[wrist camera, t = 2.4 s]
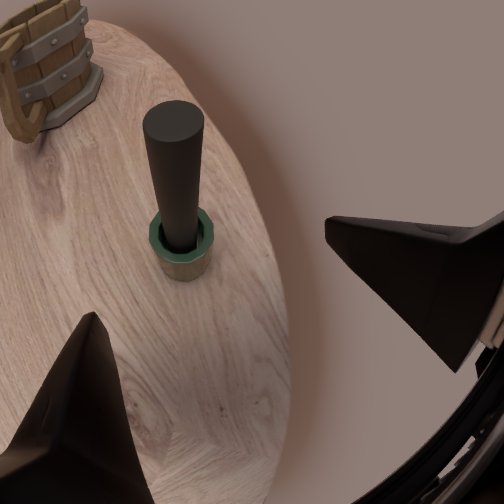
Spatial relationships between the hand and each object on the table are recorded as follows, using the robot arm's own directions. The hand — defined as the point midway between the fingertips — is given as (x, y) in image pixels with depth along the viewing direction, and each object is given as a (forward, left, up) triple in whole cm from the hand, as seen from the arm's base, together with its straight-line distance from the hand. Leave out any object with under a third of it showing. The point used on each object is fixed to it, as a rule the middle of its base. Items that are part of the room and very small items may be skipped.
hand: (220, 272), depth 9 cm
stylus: (+4, +2, -11) cm, 12 cm away
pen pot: (+4, +2, -12) cm, 13 cm away
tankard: (+22, +20, -12) cm, 32 cm away
